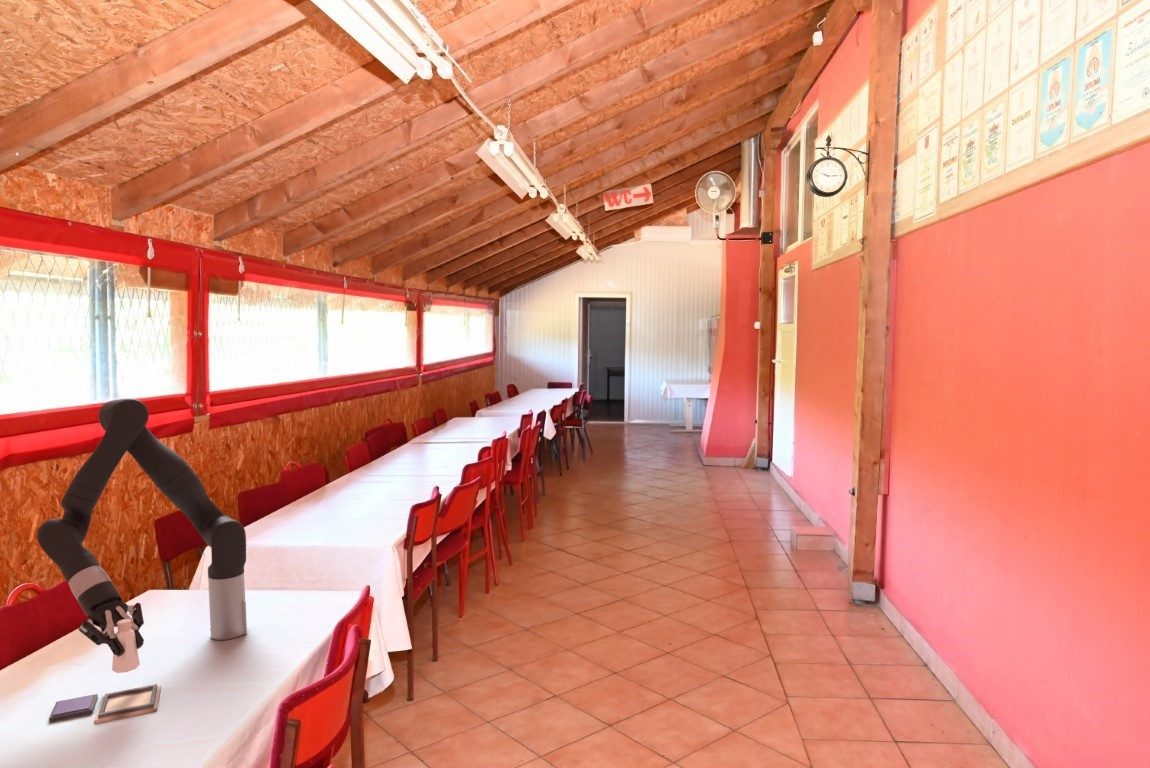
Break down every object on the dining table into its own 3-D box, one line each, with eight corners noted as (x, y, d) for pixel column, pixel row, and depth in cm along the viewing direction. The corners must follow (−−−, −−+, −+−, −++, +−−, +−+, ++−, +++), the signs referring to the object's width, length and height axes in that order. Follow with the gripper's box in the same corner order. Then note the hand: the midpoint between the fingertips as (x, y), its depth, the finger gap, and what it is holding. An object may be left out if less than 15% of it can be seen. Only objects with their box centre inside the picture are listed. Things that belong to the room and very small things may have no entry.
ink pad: (97, 698, 172) (97, 692, 172) (92, 713, 165) (92, 708, 165) (56, 705, 169) (56, 700, 168) (49, 722, 161) (48, 716, 161)
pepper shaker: (126, 674, 165) (124, 626, 164) (106, 672, 166) (104, 624, 165) (145, 663, 170) (143, 617, 169) (125, 661, 171) (123, 615, 170)
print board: (161, 687, 177) (160, 682, 177) (157, 710, 166) (156, 704, 166) (102, 699, 171) (101, 693, 171) (94, 723, 161) (93, 717, 161)
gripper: (69, 590, 163) (107, 653, 159) (130, 571, 176) (167, 629, 172) (55, 610, 166) (92, 672, 162) (117, 590, 179) (153, 647, 175)
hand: (131, 649), depth 167 cm, fingers closed on pepper shaker, 3 cm apart
